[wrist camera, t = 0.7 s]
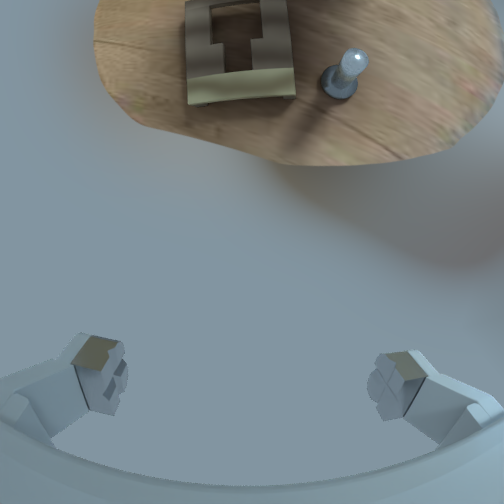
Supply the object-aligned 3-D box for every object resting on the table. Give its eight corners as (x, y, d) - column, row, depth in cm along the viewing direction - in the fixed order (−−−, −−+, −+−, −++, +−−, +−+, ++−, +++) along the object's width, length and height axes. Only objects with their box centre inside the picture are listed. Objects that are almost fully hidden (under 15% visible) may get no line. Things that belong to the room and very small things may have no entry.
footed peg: (319, 66, 39) (329, 36, 25) (354, 68, 38) (377, 40, 24) (322, 98, 41) (334, 79, 27) (357, 100, 40) (382, 83, 26)
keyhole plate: (193, 10, 36) (185, 1, 32) (285, -2, 34) (284, -13, 30) (197, 107, 44) (188, 104, 40) (295, 98, 41) (295, 94, 37)
